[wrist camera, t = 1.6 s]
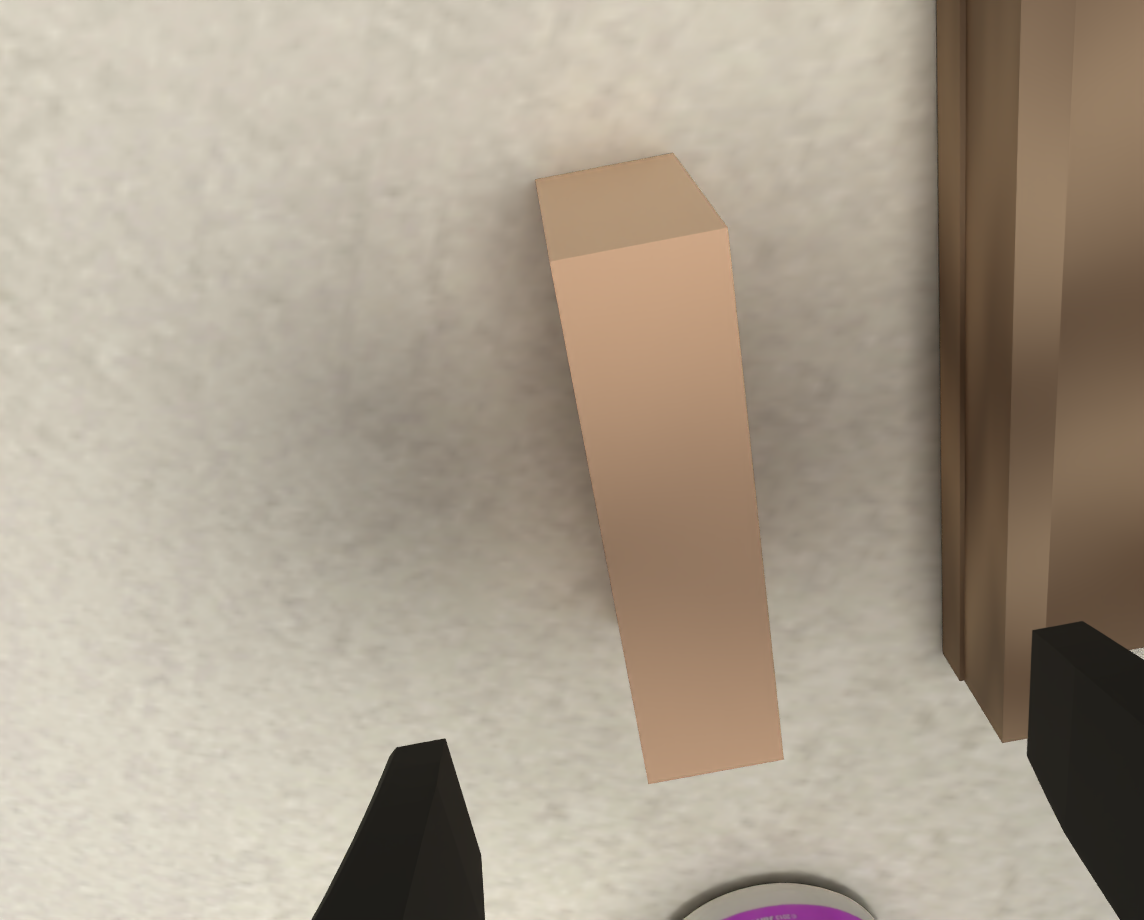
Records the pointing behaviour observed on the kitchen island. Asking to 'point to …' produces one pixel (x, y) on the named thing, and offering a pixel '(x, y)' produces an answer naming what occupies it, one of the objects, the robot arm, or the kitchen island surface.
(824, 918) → the supplement bottle
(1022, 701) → the rack
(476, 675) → the kitchen island surface
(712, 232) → the peach rectangular block
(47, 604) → the kitchen island surface
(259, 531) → the kitchen island surface
